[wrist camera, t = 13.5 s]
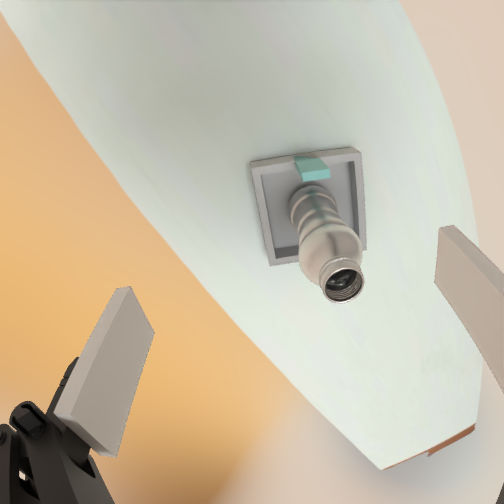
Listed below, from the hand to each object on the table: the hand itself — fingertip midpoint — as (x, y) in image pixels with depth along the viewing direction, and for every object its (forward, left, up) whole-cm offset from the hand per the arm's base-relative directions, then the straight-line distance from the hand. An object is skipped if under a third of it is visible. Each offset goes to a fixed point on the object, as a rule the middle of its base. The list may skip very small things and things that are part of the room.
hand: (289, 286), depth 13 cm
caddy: (+8, +5, -32) cm, 34 cm away
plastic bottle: (+9, +5, -31) cm, 33 cm away
